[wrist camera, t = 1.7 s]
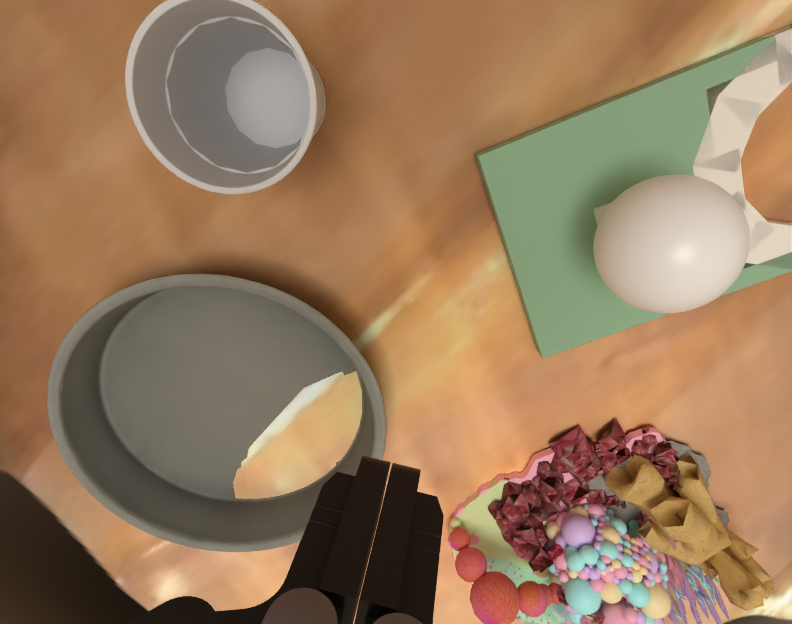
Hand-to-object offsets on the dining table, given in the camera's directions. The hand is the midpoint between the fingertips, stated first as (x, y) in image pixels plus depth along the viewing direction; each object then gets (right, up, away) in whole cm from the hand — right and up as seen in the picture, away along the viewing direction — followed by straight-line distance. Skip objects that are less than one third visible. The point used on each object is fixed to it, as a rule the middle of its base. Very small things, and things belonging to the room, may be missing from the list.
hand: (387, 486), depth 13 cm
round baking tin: (-13, -3, +29) cm, 32 cm away
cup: (-8, +18, +20) cm, 28 cm away
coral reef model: (+18, -16, +35) cm, 43 cm away
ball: (+16, +8, +17) cm, 25 cm away
